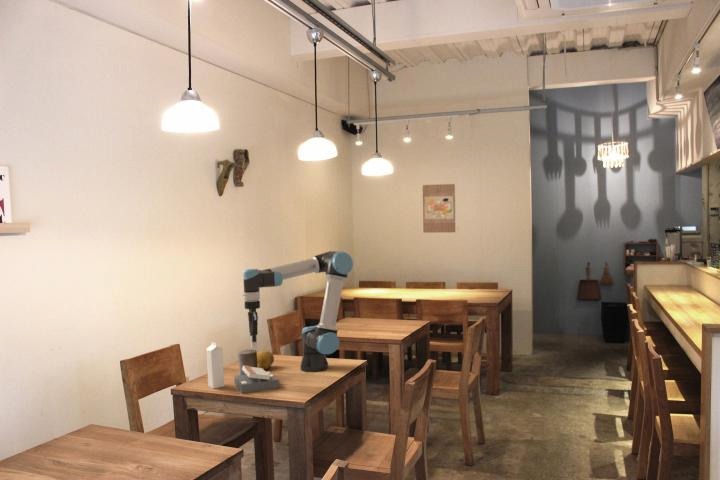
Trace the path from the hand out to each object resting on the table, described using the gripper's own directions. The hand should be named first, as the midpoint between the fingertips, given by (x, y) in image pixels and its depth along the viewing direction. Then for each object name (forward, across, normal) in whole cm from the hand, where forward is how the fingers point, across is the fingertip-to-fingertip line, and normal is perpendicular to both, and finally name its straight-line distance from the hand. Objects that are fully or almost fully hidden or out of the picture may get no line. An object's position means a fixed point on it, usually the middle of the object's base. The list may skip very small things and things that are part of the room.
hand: (254, 348), depth 295 cm
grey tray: (+19, 0, 0) cm, 19 cm away
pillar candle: (+19, -19, 0) cm, 27 cm away
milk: (+19, -10, -18) cm, 28 cm away
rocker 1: (+12, -6, 0) cm, 13 cm away
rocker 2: (+12, 0, 0) cm, 12 cm away
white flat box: (+12, +7, 0) cm, 14 cm away
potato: (+19, -34, +12) cm, 40 cm away
